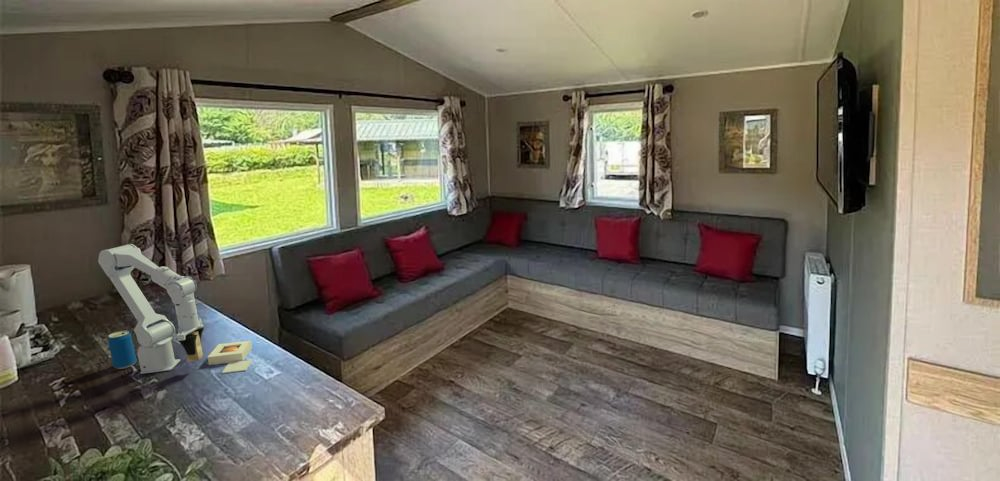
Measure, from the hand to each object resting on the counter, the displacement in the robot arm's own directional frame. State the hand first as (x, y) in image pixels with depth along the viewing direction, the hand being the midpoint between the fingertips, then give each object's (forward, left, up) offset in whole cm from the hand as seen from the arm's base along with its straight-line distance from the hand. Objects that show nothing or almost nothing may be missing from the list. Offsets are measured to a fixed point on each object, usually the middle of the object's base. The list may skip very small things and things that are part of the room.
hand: (194, 351), depth 163 cm
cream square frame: (+8, +8, -7) cm, 14 cm away
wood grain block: (0, 0, -2) cm, 2 cm away
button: (+8, +8, -5) cm, 13 cm away
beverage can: (-27, +11, -7) cm, 30 cm away
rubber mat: (+13, -2, -7) cm, 15 cm away
